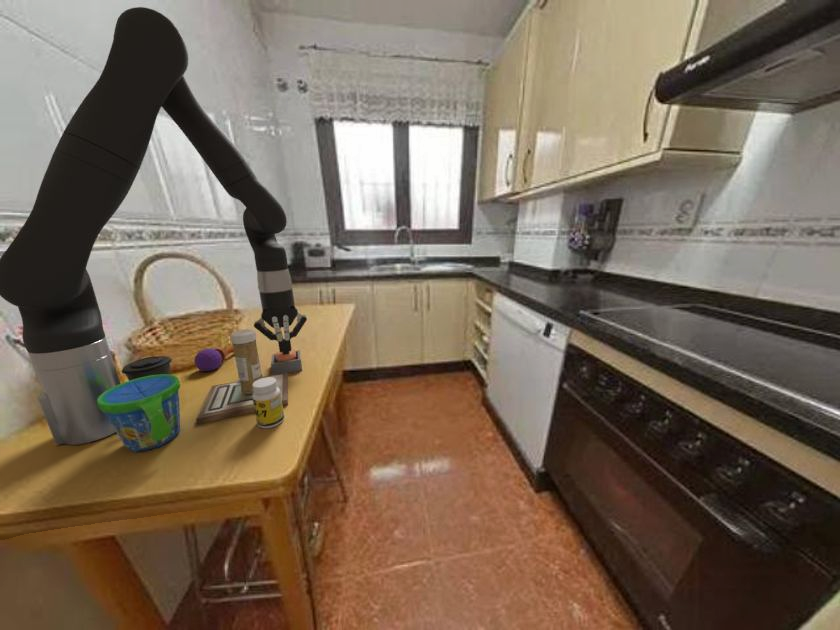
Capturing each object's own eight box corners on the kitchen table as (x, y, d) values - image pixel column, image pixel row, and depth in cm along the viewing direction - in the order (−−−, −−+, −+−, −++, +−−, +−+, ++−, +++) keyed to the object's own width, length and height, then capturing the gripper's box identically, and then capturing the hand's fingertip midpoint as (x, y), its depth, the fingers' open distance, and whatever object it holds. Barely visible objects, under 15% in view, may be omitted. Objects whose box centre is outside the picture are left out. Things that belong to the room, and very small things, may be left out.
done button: (277, 372, 80) (274, 358, 79) (277, 364, 85) (275, 351, 84) (297, 368, 82) (295, 354, 81) (297, 361, 86) (295, 348, 85)
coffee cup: (154, 415, 63) (141, 369, 60) (123, 411, 65) (108, 367, 62) (190, 394, 71) (180, 353, 68) (161, 391, 72) (149, 351, 70)
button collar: (272, 375, 79) (270, 364, 78) (273, 364, 85) (272, 354, 84) (302, 370, 81) (300, 359, 81) (301, 360, 88) (299, 350, 87)
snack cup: (201, 443, 54) (187, 391, 51) (118, 478, 47) (97, 419, 44) (182, 410, 65) (170, 364, 62) (112, 434, 57) (95, 384, 55)
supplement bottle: (251, 425, 59) (243, 384, 57) (273, 412, 63) (266, 374, 61) (268, 432, 57) (261, 390, 55) (290, 418, 61) (283, 378, 59)
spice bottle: (267, 390, 69) (257, 331, 65) (244, 397, 66) (233, 336, 62) (260, 383, 72) (251, 327, 68) (238, 389, 69) (228, 331, 66)
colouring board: (197, 424, 60) (195, 414, 59) (213, 390, 72) (211, 382, 72) (288, 404, 66) (286, 396, 65) (287, 376, 78) (286, 369, 77)
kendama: (259, 334, 98) (210, 355, 79) (258, 352, 100) (209, 377, 80) (241, 331, 99) (188, 350, 79) (240, 348, 100) (188, 372, 81)
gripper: (303, 283, 83) (311, 344, 88) (247, 288, 79) (259, 352, 83) (304, 288, 77) (313, 353, 81) (243, 293, 72) (257, 363, 77)
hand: (286, 353), depth 82 cm, fingers closed
